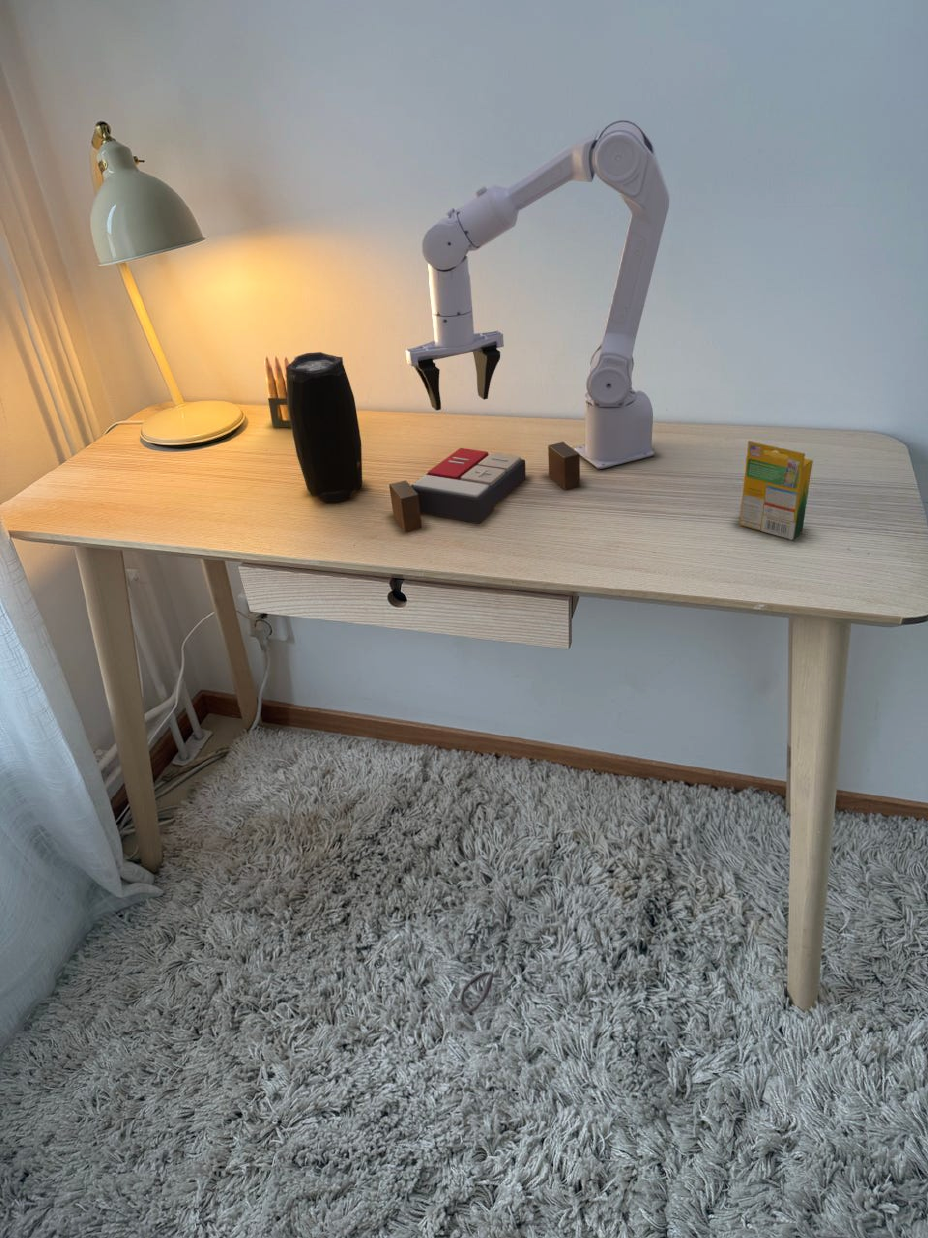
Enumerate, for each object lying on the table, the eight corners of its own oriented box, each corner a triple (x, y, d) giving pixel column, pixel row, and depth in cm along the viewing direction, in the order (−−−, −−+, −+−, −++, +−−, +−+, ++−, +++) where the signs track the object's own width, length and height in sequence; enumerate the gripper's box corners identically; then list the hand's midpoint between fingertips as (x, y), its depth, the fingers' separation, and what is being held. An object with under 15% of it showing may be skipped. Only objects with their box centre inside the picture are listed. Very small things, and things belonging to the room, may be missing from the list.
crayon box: (803, 531, 115) (816, 445, 108) (792, 541, 113) (805, 454, 107) (749, 516, 119) (758, 432, 113) (738, 525, 117) (747, 440, 111)
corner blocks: (563, 473, 134) (563, 441, 131) (579, 486, 130) (579, 453, 127) (393, 516, 127) (388, 484, 124) (405, 532, 123) (401, 498, 120)
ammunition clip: (272, 426, 158) (258, 357, 151) (276, 422, 159) (263, 354, 152) (329, 428, 155) (318, 358, 148) (333, 424, 156) (322, 355, 150)
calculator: (526, 454, 132) (478, 494, 120) (526, 482, 134) (479, 524, 123) (459, 444, 136) (406, 482, 125) (460, 471, 138) (409, 511, 127)
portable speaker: (378, 486, 135) (360, 355, 124) (330, 511, 129) (306, 377, 118) (341, 472, 140) (320, 345, 129) (292, 495, 134) (266, 365, 123)
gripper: (487, 295, 135) (492, 384, 143) (394, 313, 131) (405, 404, 139) (507, 306, 130) (512, 398, 137) (411, 325, 125) (422, 419, 133)
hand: (459, 402), depth 138 cm, fingers open, 7 cm apart
